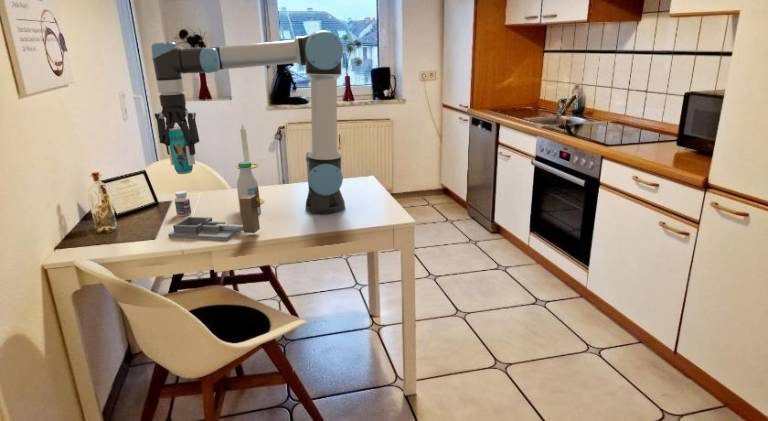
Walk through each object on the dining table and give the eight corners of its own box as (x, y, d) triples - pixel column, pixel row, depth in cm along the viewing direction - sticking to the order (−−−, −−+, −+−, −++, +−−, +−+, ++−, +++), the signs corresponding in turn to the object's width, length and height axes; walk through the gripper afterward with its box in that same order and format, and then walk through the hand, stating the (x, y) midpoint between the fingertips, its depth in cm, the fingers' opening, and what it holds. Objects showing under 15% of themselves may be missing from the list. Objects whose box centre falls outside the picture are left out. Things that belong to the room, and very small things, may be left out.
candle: (268, 203, 204) (259, 123, 194) (244, 208, 199) (233, 126, 188) (259, 197, 212) (250, 120, 202) (236, 202, 207) (225, 123, 196)
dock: (244, 227, 177) (243, 217, 176) (227, 240, 166) (226, 229, 165) (188, 225, 182) (187, 215, 181) (168, 237, 171) (166, 226, 170)
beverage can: (175, 175, 165) (168, 129, 160) (175, 171, 170) (167, 127, 165) (194, 173, 167) (187, 128, 162) (193, 169, 172) (186, 125, 167)
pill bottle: (186, 216, 191) (182, 194, 188) (174, 216, 192) (170, 194, 189) (194, 212, 196) (190, 190, 193) (182, 211, 197) (178, 190, 194)
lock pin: (259, 228, 171) (255, 195, 168) (254, 233, 168) (250, 198, 164) (220, 226, 175) (215, 193, 171) (214, 231, 171) (208, 197, 167)
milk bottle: (243, 218, 187) (236, 165, 181) (238, 212, 194) (231, 161, 187) (263, 214, 191) (257, 163, 184) (258, 209, 197) (252, 159, 191)
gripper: (204, 91, 161) (214, 162, 169) (153, 92, 165) (165, 161, 173) (191, 94, 154) (202, 167, 162) (138, 95, 158) (151, 166, 166)
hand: (183, 164), depth 167 cm, fingers closed on beverage can, 6 cm apart
